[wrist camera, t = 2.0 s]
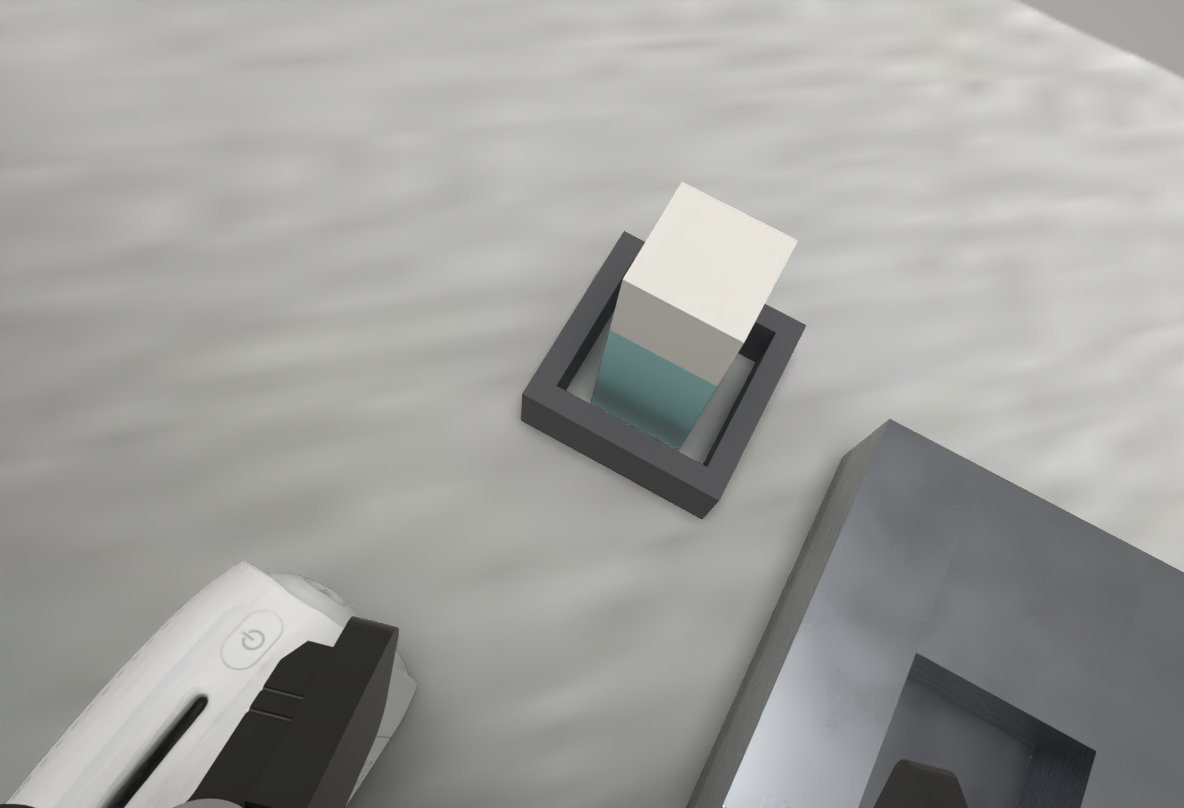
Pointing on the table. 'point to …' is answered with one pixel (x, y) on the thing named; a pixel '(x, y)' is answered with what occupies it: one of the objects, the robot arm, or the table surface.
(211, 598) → the photo printer
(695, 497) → the dark grey square frame
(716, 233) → the plug
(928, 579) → the block
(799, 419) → the table surface
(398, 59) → the table surface
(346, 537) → the table surface
